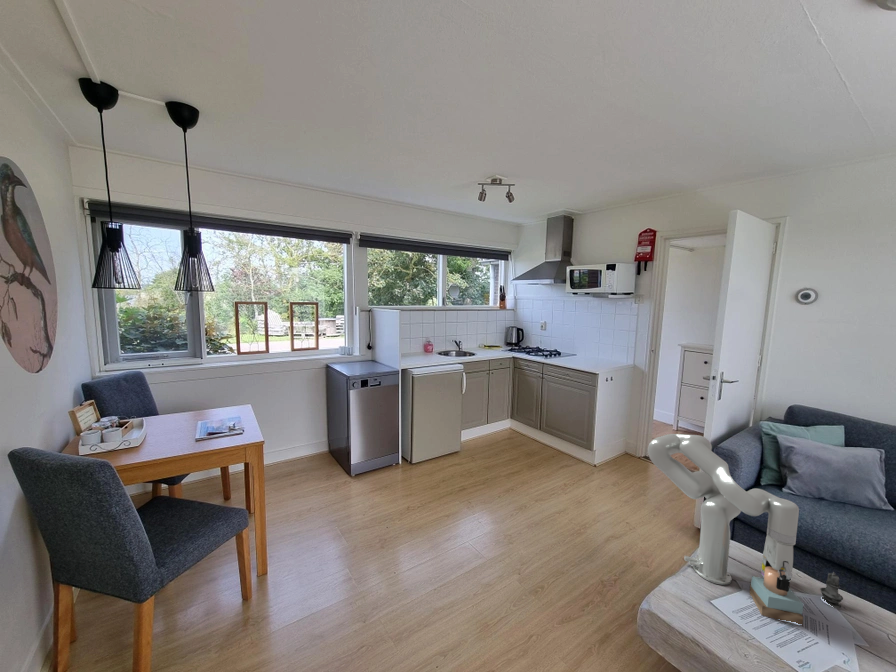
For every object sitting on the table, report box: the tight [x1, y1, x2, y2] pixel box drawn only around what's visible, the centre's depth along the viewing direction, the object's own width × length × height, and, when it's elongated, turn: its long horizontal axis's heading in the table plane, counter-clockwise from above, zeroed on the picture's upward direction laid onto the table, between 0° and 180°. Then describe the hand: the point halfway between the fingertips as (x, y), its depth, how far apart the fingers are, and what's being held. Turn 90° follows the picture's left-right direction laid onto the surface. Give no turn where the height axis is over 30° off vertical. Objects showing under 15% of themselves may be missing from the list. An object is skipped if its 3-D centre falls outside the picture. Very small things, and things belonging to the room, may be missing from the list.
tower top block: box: [750, 575, 804, 615], centre depth 128 cm, size 10×10×4 cm
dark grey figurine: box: [819, 571, 844, 610], centre depth 132 cm, size 6×6×12 cm
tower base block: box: [748, 583, 804, 625], centre depth 128 cm, size 11×11×4 cm
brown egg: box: [763, 566, 787, 596], centre depth 128 cm, size 6×6×6 cm
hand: (776, 580), depth 128 cm, fingers open, 8 cm apart
